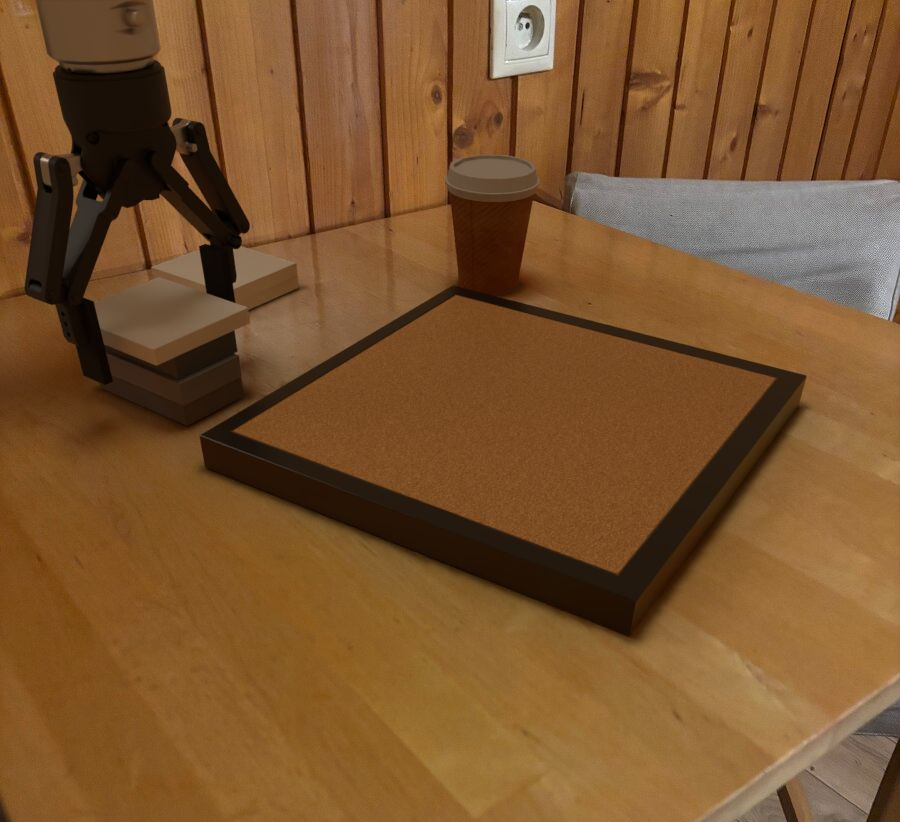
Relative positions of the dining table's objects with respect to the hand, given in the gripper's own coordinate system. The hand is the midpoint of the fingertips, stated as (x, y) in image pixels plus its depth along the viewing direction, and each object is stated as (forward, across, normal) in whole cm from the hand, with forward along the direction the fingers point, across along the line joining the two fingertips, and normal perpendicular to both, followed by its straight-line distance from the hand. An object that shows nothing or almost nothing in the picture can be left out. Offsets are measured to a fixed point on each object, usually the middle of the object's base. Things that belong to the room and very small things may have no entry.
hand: (165, 349), depth 79 cm
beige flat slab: (-2, 0, 0) cm, 2 cm away
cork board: (+4, +12, -28) cm, 31 cm away
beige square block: (+4, +19, +13) cm, 23 cm away
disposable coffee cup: (+4, +37, -8) cm, 38 cm away
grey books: (+4, 0, 0) cm, 4 cm away
